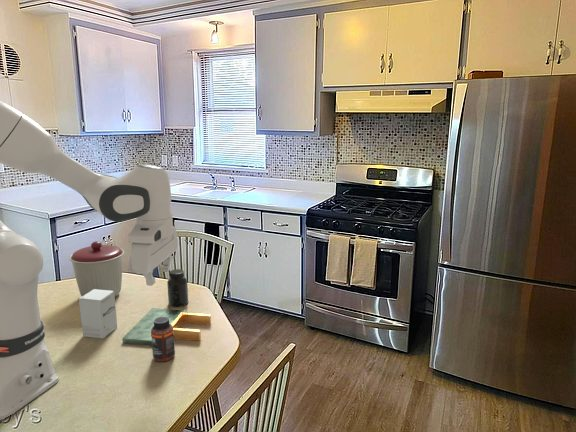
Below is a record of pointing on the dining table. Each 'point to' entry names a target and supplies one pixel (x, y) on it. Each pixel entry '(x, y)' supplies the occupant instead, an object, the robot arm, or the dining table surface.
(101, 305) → the supplement box
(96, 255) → the canister
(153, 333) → the supplement bottle
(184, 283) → the supplement bottle
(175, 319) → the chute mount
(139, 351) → the dining table surface
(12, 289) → the robot arm
